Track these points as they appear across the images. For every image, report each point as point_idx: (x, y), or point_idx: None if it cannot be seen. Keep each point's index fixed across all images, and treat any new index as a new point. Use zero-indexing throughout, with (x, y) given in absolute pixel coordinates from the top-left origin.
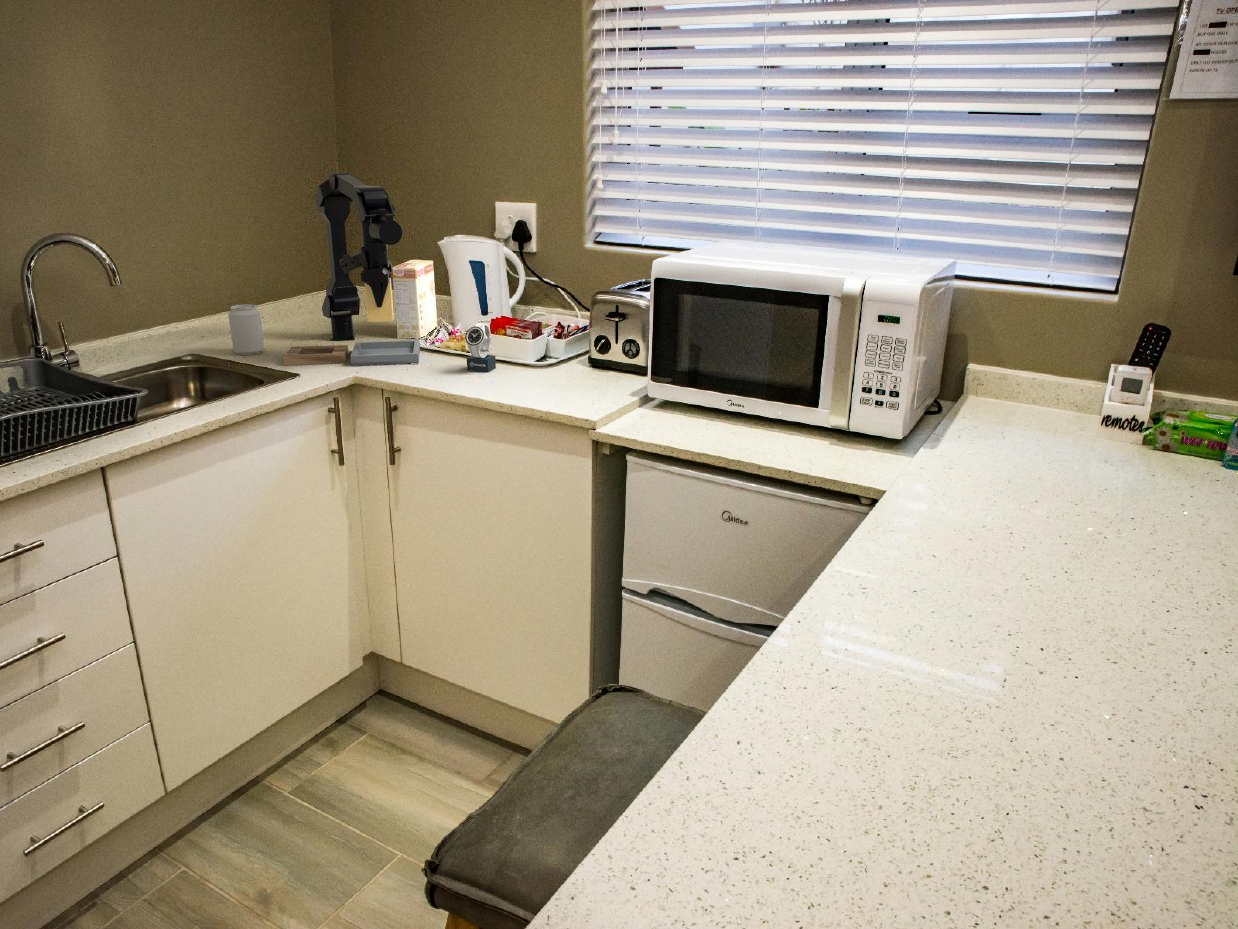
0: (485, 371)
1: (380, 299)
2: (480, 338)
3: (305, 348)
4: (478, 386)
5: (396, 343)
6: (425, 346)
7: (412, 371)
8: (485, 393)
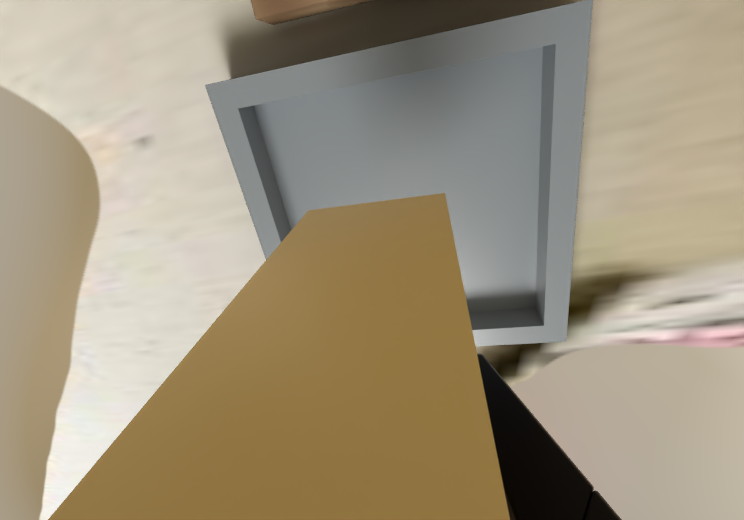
0: None
1: None
2: None
3: None
4: None
5: (544, 246)
6: (606, 328)
7: (212, 322)
8: (84, 460)
